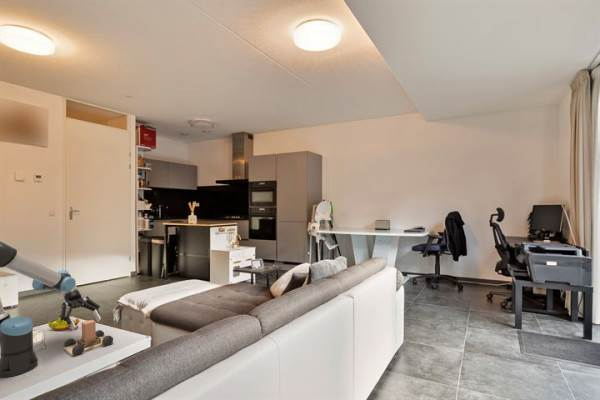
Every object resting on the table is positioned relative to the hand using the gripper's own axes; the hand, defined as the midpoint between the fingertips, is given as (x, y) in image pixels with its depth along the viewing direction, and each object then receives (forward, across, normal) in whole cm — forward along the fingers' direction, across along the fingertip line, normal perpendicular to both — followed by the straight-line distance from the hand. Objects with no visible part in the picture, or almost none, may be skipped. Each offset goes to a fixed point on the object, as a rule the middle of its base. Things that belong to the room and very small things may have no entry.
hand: (87, 324), depth 180 cm
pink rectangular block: (+9, +1, -5) cm, 10 cm away
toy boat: (-18, -8, -35) cm, 40 cm away
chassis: (+10, +1, -6) cm, 12 cm away
